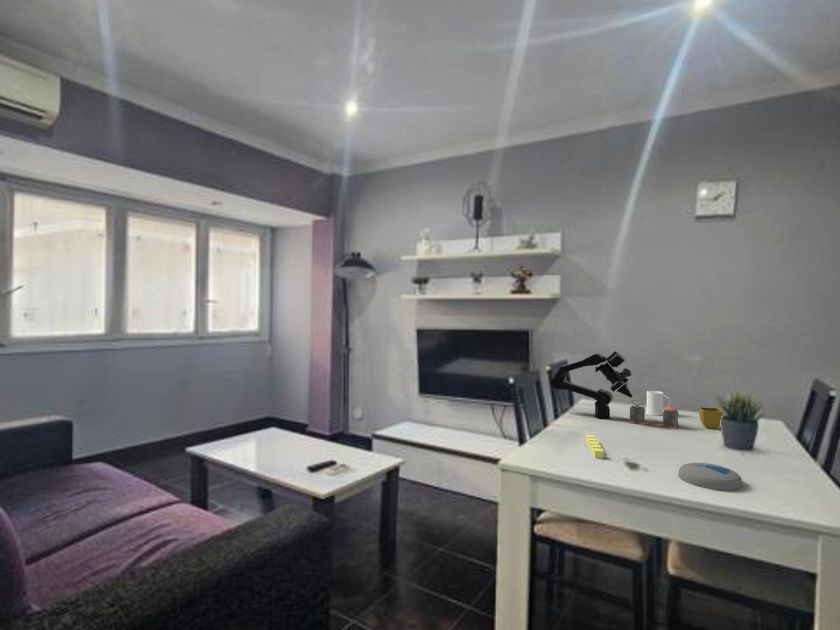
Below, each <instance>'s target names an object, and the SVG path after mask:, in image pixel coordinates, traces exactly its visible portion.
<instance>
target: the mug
mask: <svg viewBox="0 0 840 630" xmlns="http://www.w3.org/2000/svg"><path fill="white" fill-rule="evenodd" d="M664 398H666V399H668V405H667V406H670V405H671V400H670V398H669V397H668V396H667V395H666V394H664V392H663V391H658V390H647V391H646V410H645V414H647V415H650V416H657V417H658V416H660V415H661V416H663V411H664V407H665V406H664Z"/></svg>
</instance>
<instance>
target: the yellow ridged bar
mask: <svg viewBox="0 0 840 630" xmlns="http://www.w3.org/2000/svg"><path fill="white" fill-rule="evenodd" d="M585 438H586V439H585V441H586V444H587V446H588V448H589V451H591V454H592V456H593V458H594V457H595V458H594V459H601V458H603V459H604V458H605V457H604V449H603V448H602V446H601V444H600V443H599V441H598V439H597V438H596V436H595V435H592V434H586V436H585Z"/></svg>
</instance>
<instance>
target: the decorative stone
mask: <svg viewBox="0 0 840 630" xmlns="http://www.w3.org/2000/svg"><path fill="white" fill-rule="evenodd" d="M678 477H679V479H680V480H681V481H683V482H685V483H686V484H689V485H691V486H695V487H698V488H702V489H708V490H713V491H721V492H732V491H739V490H741V489H742V488H743V479H742V477H741V475H740V474H739V473H738V472H736V471H734V470H732V469H731V468H728V467H726V466H722V465H719V464H715V463H714V464H713V463H709V462H708V463H707V462H688V463H684V464H682V465H681V466H680V467H679V469H678Z"/></svg>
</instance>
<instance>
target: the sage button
mask: <svg viewBox="0 0 840 630" xmlns="http://www.w3.org/2000/svg"><path fill="white" fill-rule="evenodd" d="M630 402H631V404H632V405H633V406H636V408H639V407H640V406H643V405H644V404H645V402H644V400H642V399H631V401H630Z"/></svg>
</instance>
